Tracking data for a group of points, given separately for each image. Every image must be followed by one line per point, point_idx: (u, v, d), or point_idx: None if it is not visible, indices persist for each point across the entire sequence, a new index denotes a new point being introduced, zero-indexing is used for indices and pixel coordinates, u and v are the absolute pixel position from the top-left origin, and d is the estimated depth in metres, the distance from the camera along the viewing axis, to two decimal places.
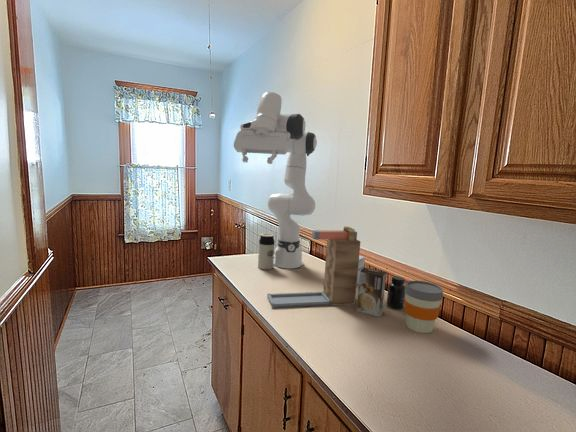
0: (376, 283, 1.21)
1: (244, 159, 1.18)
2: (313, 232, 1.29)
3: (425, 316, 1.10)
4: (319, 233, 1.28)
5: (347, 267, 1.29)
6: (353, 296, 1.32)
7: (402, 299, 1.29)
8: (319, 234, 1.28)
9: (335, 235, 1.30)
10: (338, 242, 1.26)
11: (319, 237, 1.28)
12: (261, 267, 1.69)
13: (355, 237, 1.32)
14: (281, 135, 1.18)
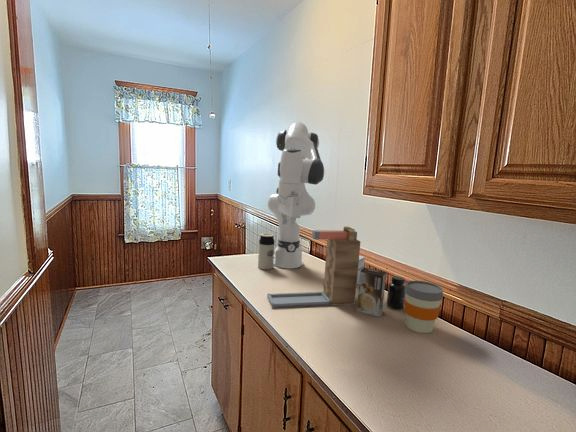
0: (376, 283, 1.21)
1: (282, 223, 1.31)
2: (313, 232, 1.29)
3: (425, 316, 1.10)
4: (319, 233, 1.28)
5: (347, 267, 1.29)
6: (353, 296, 1.32)
7: (402, 299, 1.29)
8: (319, 234, 1.28)
9: (335, 235, 1.30)
10: (338, 242, 1.26)
11: (319, 237, 1.28)
12: (261, 267, 1.69)
13: (355, 237, 1.32)
14: (290, 201, 1.18)
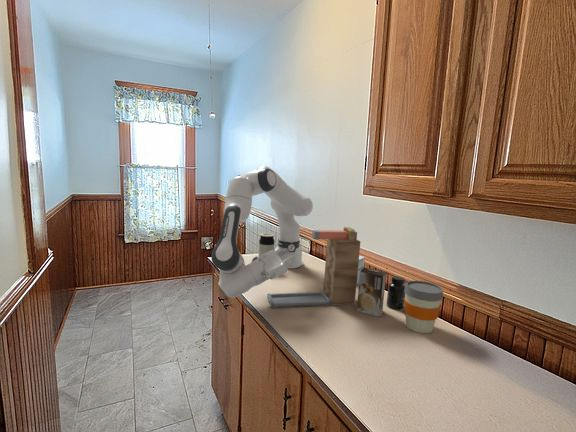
0: (376, 283, 1.21)
1: None
2: (313, 232, 1.29)
3: (425, 316, 1.10)
4: (319, 233, 1.28)
5: (347, 267, 1.29)
6: (353, 296, 1.32)
7: (402, 299, 1.29)
8: (319, 234, 1.28)
9: (335, 235, 1.30)
10: (338, 242, 1.26)
11: (319, 237, 1.28)
12: None
13: (355, 237, 1.32)
14: None
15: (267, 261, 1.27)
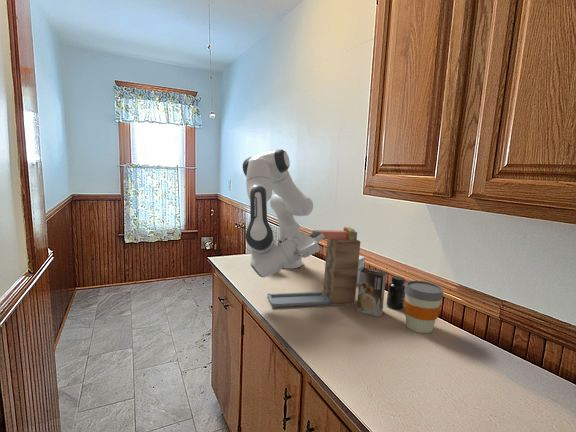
0: (376, 283, 1.21)
1: None
2: (313, 232, 1.29)
3: (425, 316, 1.10)
4: (319, 233, 1.28)
5: (347, 267, 1.29)
6: (353, 296, 1.32)
7: (402, 299, 1.29)
8: None
9: (335, 235, 1.30)
10: (338, 242, 1.26)
11: None
12: None
13: (355, 237, 1.32)
14: None
15: (298, 241, 1.29)
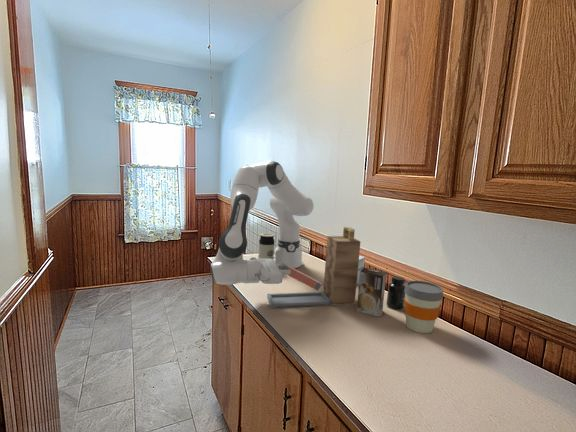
0: (376, 283, 1.21)
1: None
2: (282, 264, 1.28)
3: (425, 316, 1.10)
4: (287, 268, 1.27)
5: (347, 267, 1.29)
6: (353, 296, 1.32)
7: (402, 299, 1.29)
8: None
9: (301, 277, 1.29)
10: (338, 242, 1.26)
11: None
12: None
13: (317, 288, 1.31)
14: None
15: (264, 266, 1.27)
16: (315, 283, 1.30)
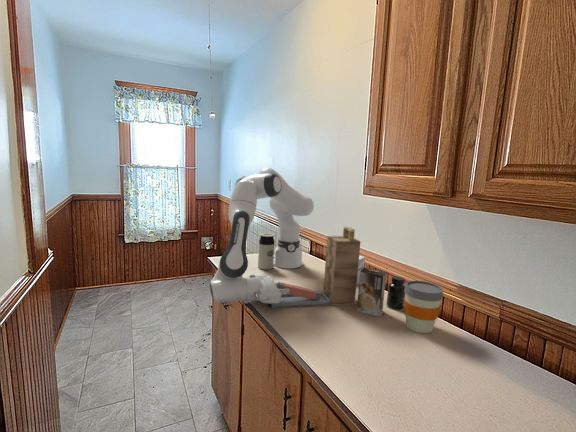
0: (376, 283, 1.21)
1: None
2: (278, 284, 1.29)
3: (425, 316, 1.10)
4: (284, 287, 1.28)
5: (347, 267, 1.29)
6: (353, 296, 1.32)
7: (402, 299, 1.29)
8: (283, 288, 1.28)
9: (299, 292, 1.30)
10: (338, 242, 1.26)
11: None
12: (261, 267, 1.69)
13: (318, 298, 1.32)
14: None
15: (263, 284, 1.28)
16: (315, 294, 1.31)
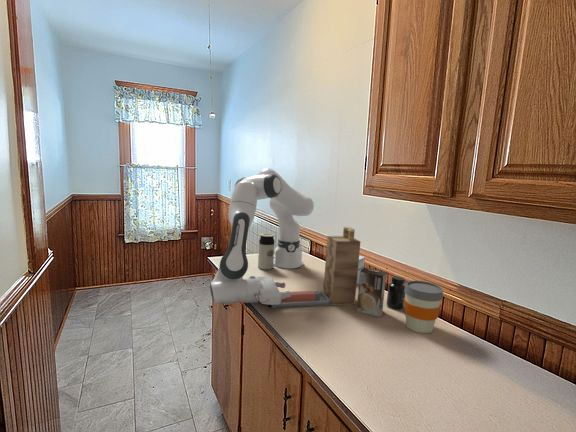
0: (376, 283, 1.21)
1: None
2: None
3: (425, 316, 1.10)
4: None
5: (347, 267, 1.29)
6: (353, 296, 1.32)
7: (402, 299, 1.29)
8: None
9: (298, 298, 1.30)
10: (338, 242, 1.26)
11: (281, 300, 1.28)
12: (261, 267, 1.69)
13: (318, 298, 1.32)
14: None
15: (264, 285, 1.29)
16: (313, 295, 1.31)
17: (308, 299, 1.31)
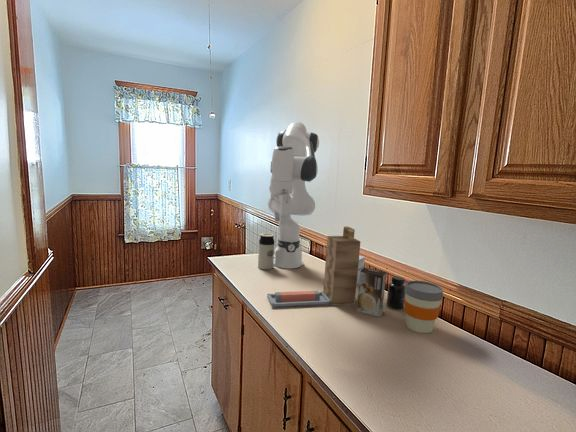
0: (376, 283, 1.21)
1: (275, 220, 1.33)
2: (275, 295, 1.29)
3: (425, 316, 1.10)
4: (281, 296, 1.28)
5: (347, 267, 1.29)
6: (353, 296, 1.32)
7: (402, 299, 1.29)
8: (281, 297, 1.28)
9: (298, 298, 1.30)
10: (338, 242, 1.26)
11: (281, 300, 1.28)
12: (261, 267, 1.69)
13: (318, 298, 1.32)
14: (280, 199, 1.19)
15: None
16: (313, 295, 1.31)
17: (308, 299, 1.31)
